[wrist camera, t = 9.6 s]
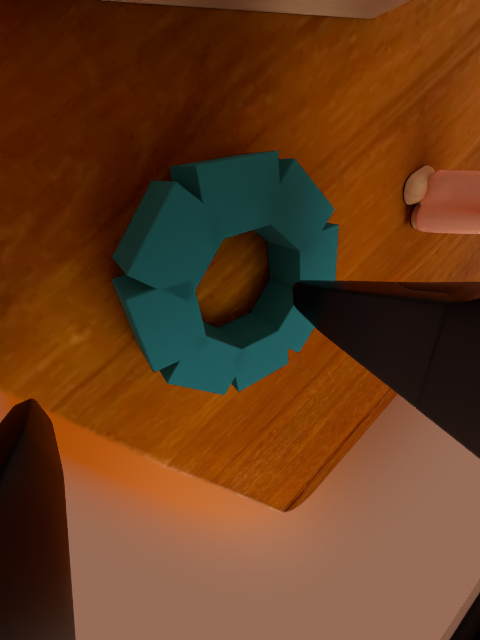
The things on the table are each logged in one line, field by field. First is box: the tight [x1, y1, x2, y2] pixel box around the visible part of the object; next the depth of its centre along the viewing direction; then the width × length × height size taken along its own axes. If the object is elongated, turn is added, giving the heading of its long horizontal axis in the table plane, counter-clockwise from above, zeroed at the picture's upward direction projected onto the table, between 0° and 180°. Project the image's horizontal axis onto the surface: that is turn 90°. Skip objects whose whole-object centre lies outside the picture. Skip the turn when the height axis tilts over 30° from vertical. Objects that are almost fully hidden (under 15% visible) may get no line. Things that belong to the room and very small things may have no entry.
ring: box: [112, 151, 339, 395], centre depth 12 cm, size 10×10×2 cm
